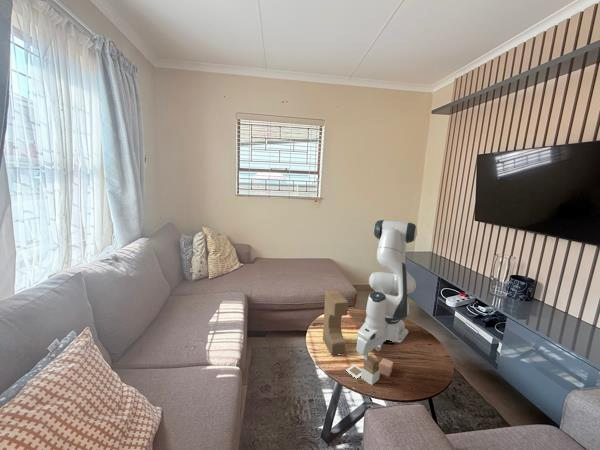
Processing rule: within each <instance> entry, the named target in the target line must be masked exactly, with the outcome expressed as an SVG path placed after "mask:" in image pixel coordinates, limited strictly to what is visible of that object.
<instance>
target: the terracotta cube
mask: <svg viewBox="0 0 600 450" xmlns="http://www.w3.org/2000/svg"><path fill="white" fill-rule="evenodd" d="M393 367H394V362H393V361H392V360H389V359H387V358H384V357H383V358H382V359H381V360H380V361H379V370H380V375H384V376H386V377H390V375H391V373H392V372H393Z"/></svg>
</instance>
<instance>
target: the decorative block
mask: <svg viewBox="0 0 600 450" xmlns="http://www.w3.org/2000/svg"><path fill="white" fill-rule="evenodd" d="M348 311H349V301H348V300H347V299H346V298H345V297H344V295H342V293H340V291H339V290H338V289H335V290H325V294H324V309H323V312H324V313H323V326H322V327H323V328H322V340H323V343H324V342H325V343H324V344H326V345H325V346H326V348H327V350H328V352H329V354H330V353H331V354H330V355H336V356H339V355H338V354H344V355H345V354H346V340H345V339H344V336H343V331H342V317H344V316H348V315H349V314H348Z"/></svg>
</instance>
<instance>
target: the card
mask: <svg viewBox="0 0 600 450" xmlns="http://www.w3.org/2000/svg"><path fill="white" fill-rule="evenodd" d="M345 370H346V371H347V372H348V373H349V374H348V373H347V372H346V371H345V372H346V373H347V374H348V375H350V374H351V375H352V376H351V375H350V376H351V377H353V378H354V377H355V378H356V379H355V378H354V379H355V380H358V379H360V378H361V377H360V376H361V370H362V368H360V367H359V366H357V365H356V364H352V365H351V366H350V367H348V368H346V369H345ZM357 378H358V379H357Z"/></svg>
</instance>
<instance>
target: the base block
mask: <svg viewBox="0 0 600 450" xmlns="http://www.w3.org/2000/svg"><path fill="white" fill-rule="evenodd" d="M361 369H362V370H361V377H360V378H361V379H362V380H363V379H364V380H363V381H364V382H366V383H367V384H369V385H370V384H371V385H370V386H373V385H374V384H375V383H376V382H377V381H379V380H380V375H381V373H380V370H378V371H377V372H375V373H374V374H371V373H369V372H368V371H366V370H365V369H363V367H362V368H361Z"/></svg>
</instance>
